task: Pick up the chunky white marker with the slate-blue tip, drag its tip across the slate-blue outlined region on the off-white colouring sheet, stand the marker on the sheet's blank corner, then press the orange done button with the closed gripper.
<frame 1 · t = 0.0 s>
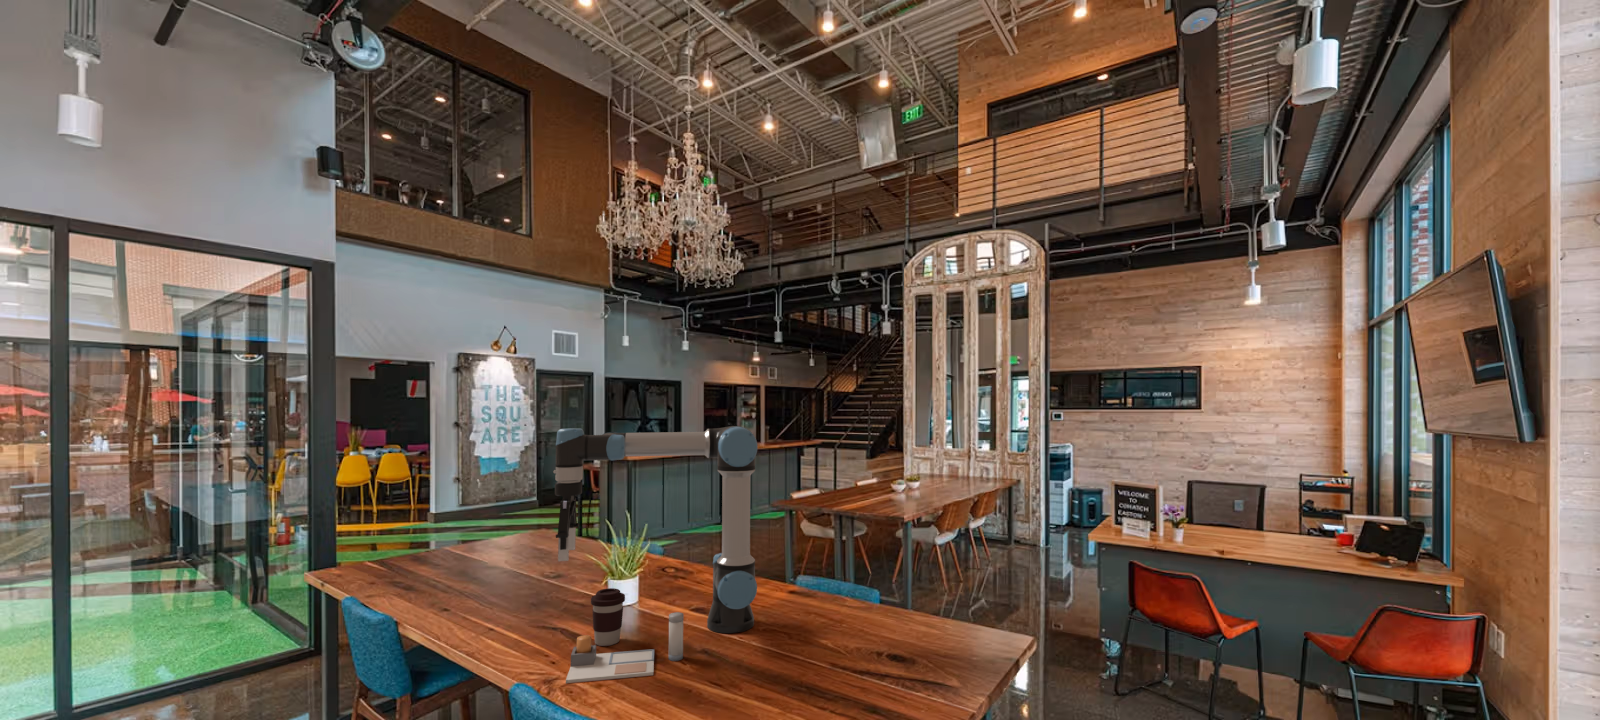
hand: (566, 555, 180), 28 cm above the table, fingers open, 13 cm apart
coffee cup: (607, 642, 188), on the table
marker: (675, 658, 175), on the table
done button: (583, 647, 172), point 5 cm above the table, slide at 0.0 cm
sheet board: (612, 666, 170), on the table
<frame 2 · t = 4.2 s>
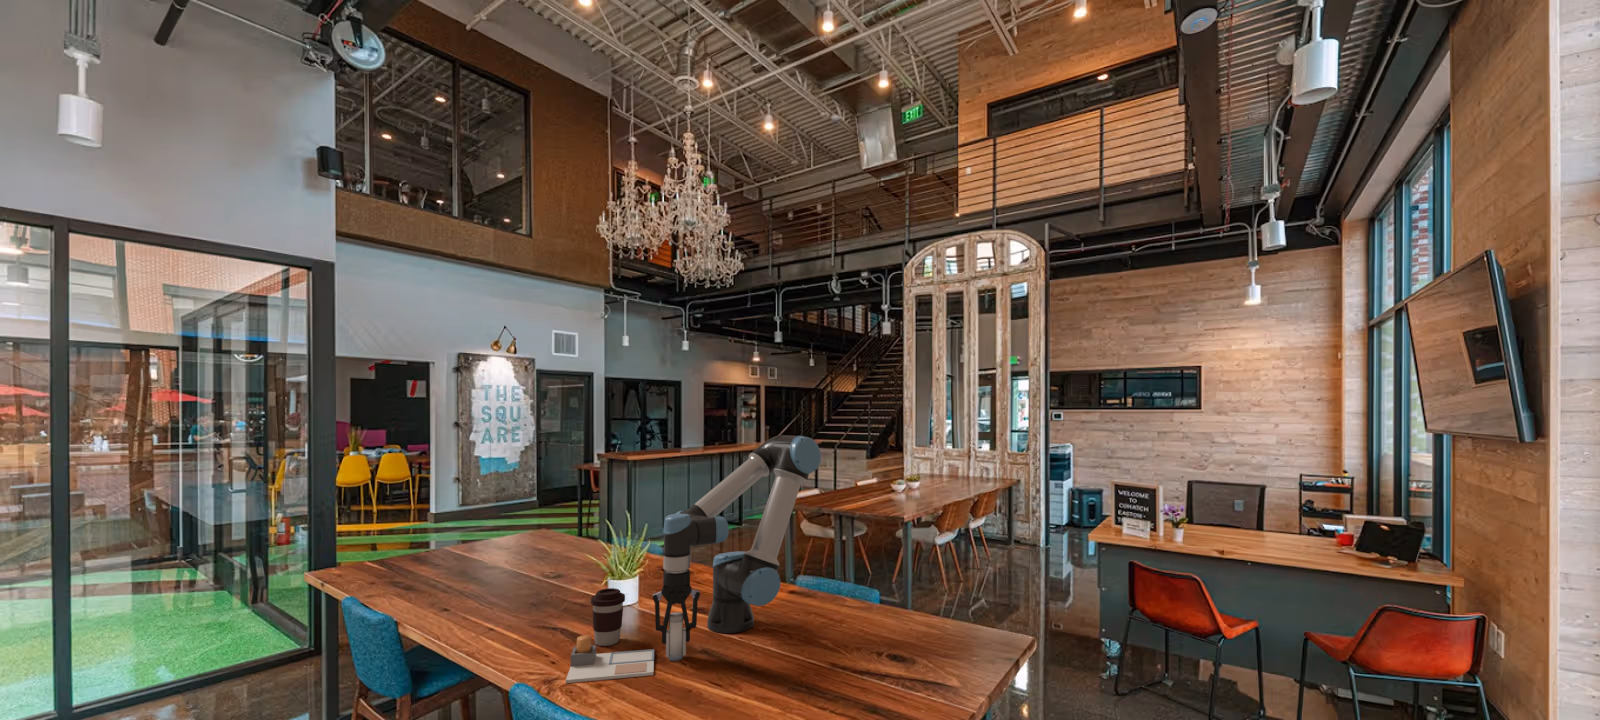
hand: (675, 654, 175), 1 cm above the table, fingers closed on marker, 4 cm apart
marker: (675, 658, 175), on the table, touching gripper
everything else where it was.
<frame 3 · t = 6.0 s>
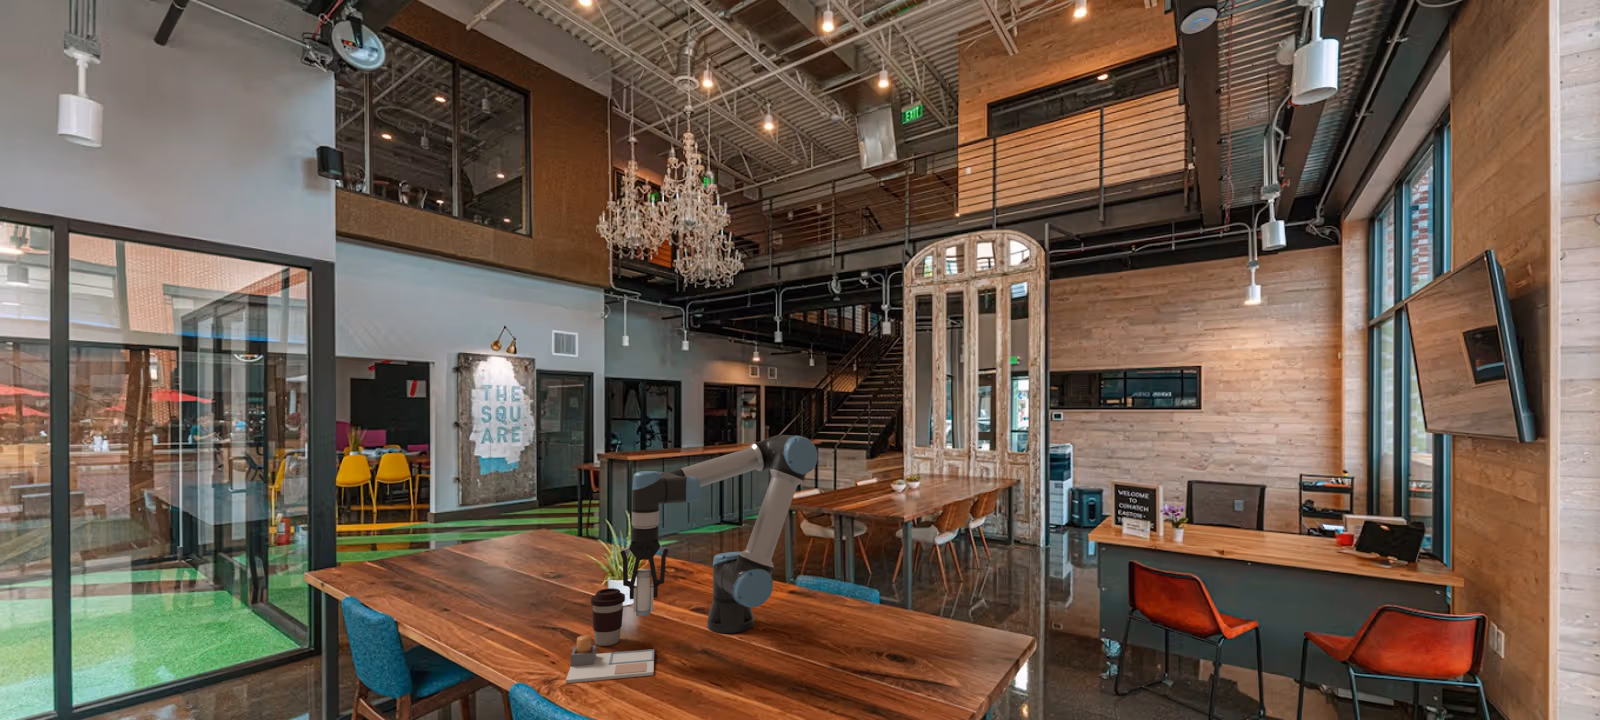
hand: (643, 609, 176), 14 cm above the table, fingers closed on marker, 4 cm apart
marker: (643, 614, 176), point 12 cm above the table, touching gripper
everything else where it was.
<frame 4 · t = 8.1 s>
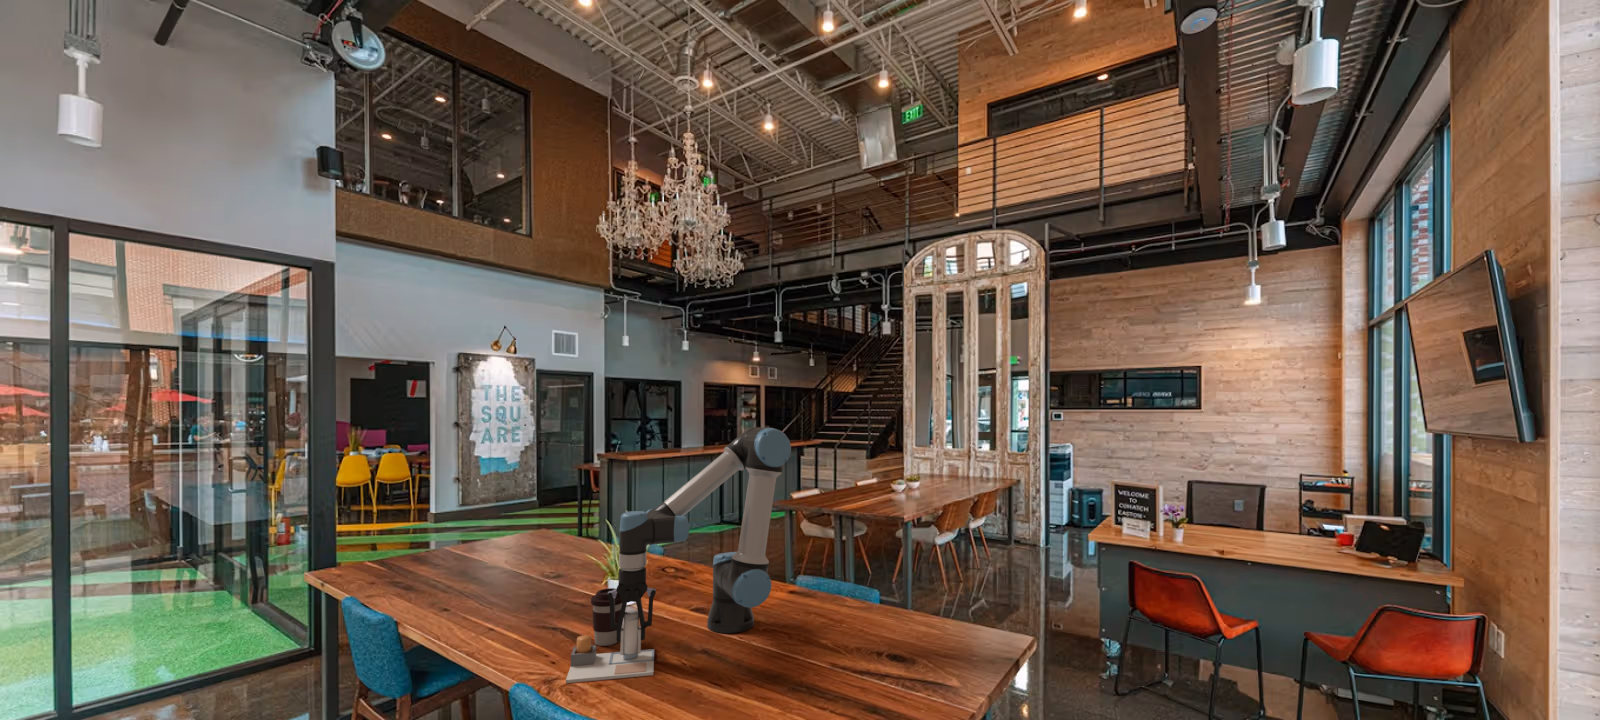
hand: (630, 652, 174), 2 cm above the table, fingers closed on marker, 4 cm apart
marker: (630, 656, 174), point 1 cm above the table, touching gripper
everything else where it was.
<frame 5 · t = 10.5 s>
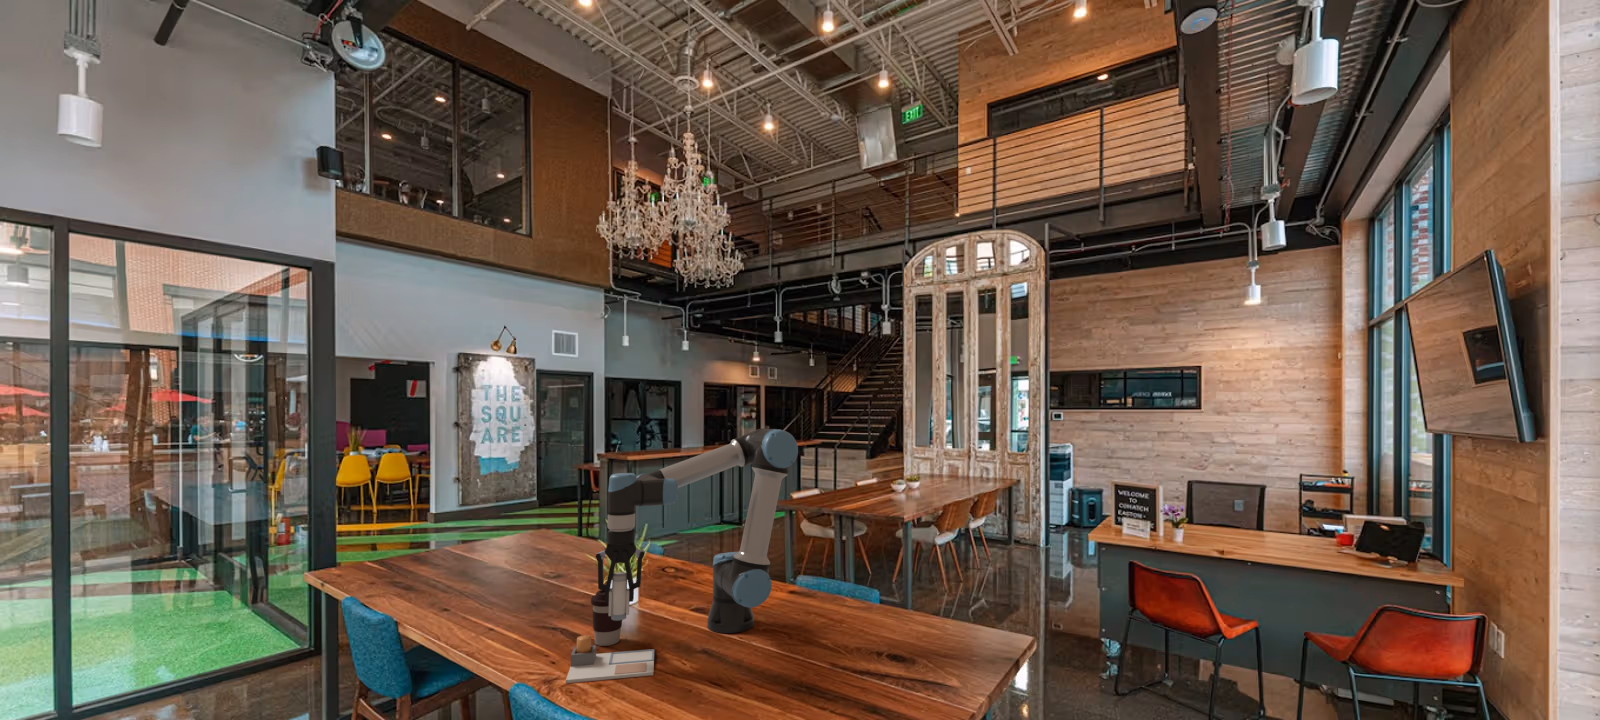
hand: (618, 613, 173), 13 cm above the table, fingers closed on marker, 4 cm apart
marker: (618, 618, 173), point 12 cm above the table, touching gripper
everything else where it was.
when the fingers open (3 cm above the table, at t = 12.5 s): marker stays where it is, resting on sheet board.
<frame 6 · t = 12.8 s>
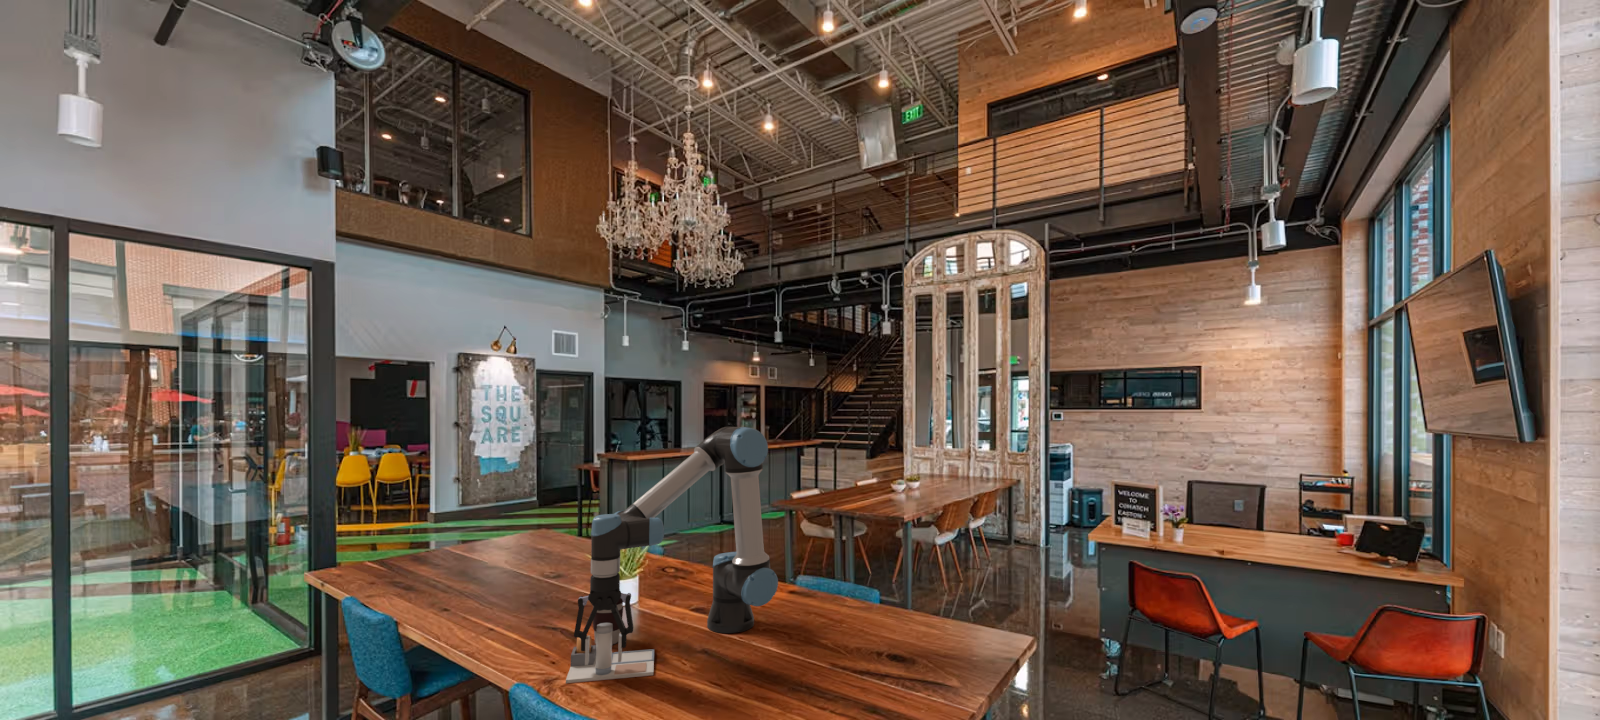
hand: (603, 661, 165), 3 cm above the table, fingers open, 8 cm apart
marker: (603, 671, 165), point 1 cm above the table, touching sheet board
everything else where it was.
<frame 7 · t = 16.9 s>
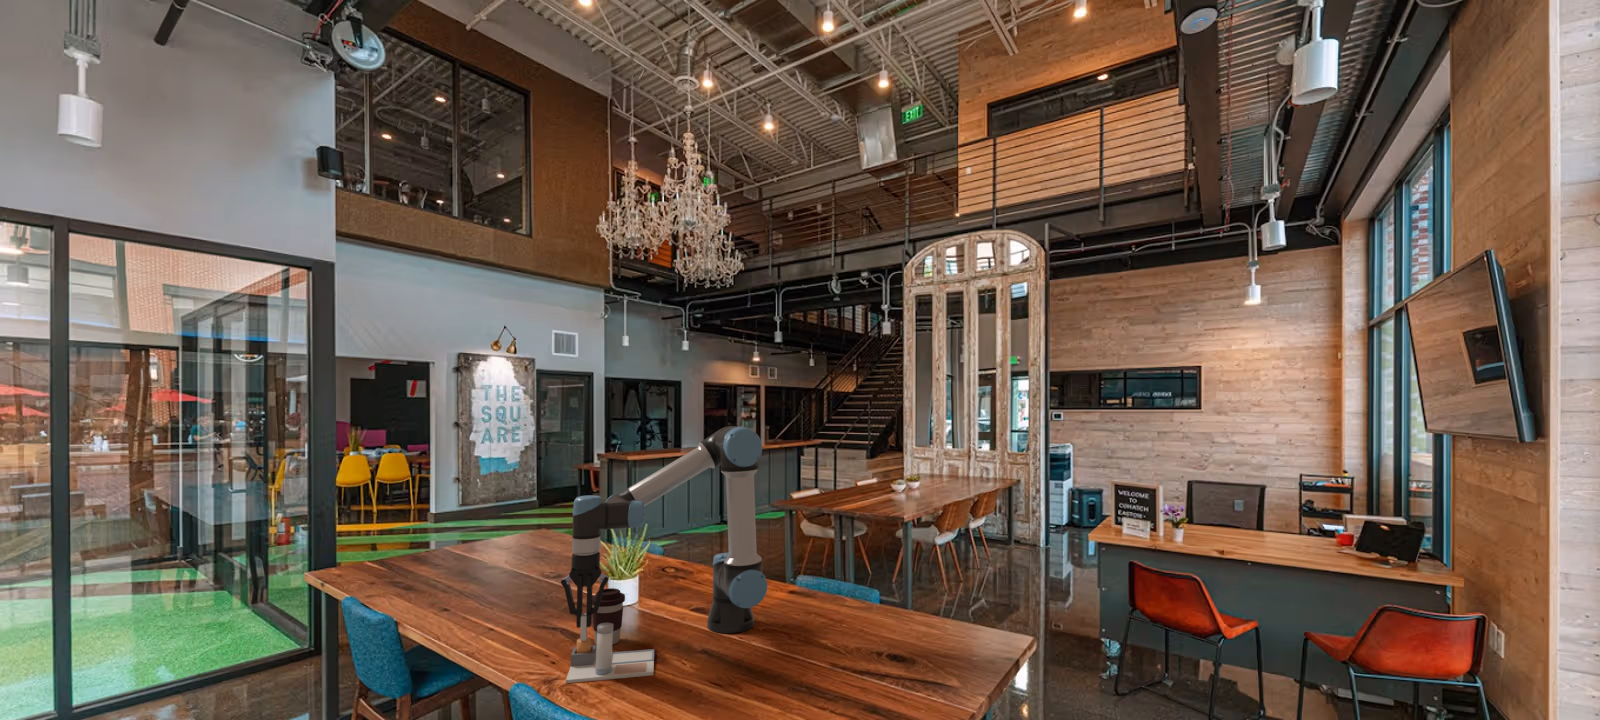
hand: (583, 638, 172), 7 cm above the table, fingers closed
done button: (583, 649, 172), point 4 cm above the table, slide at 0.6 cm, touching gripper
everything else where it was.
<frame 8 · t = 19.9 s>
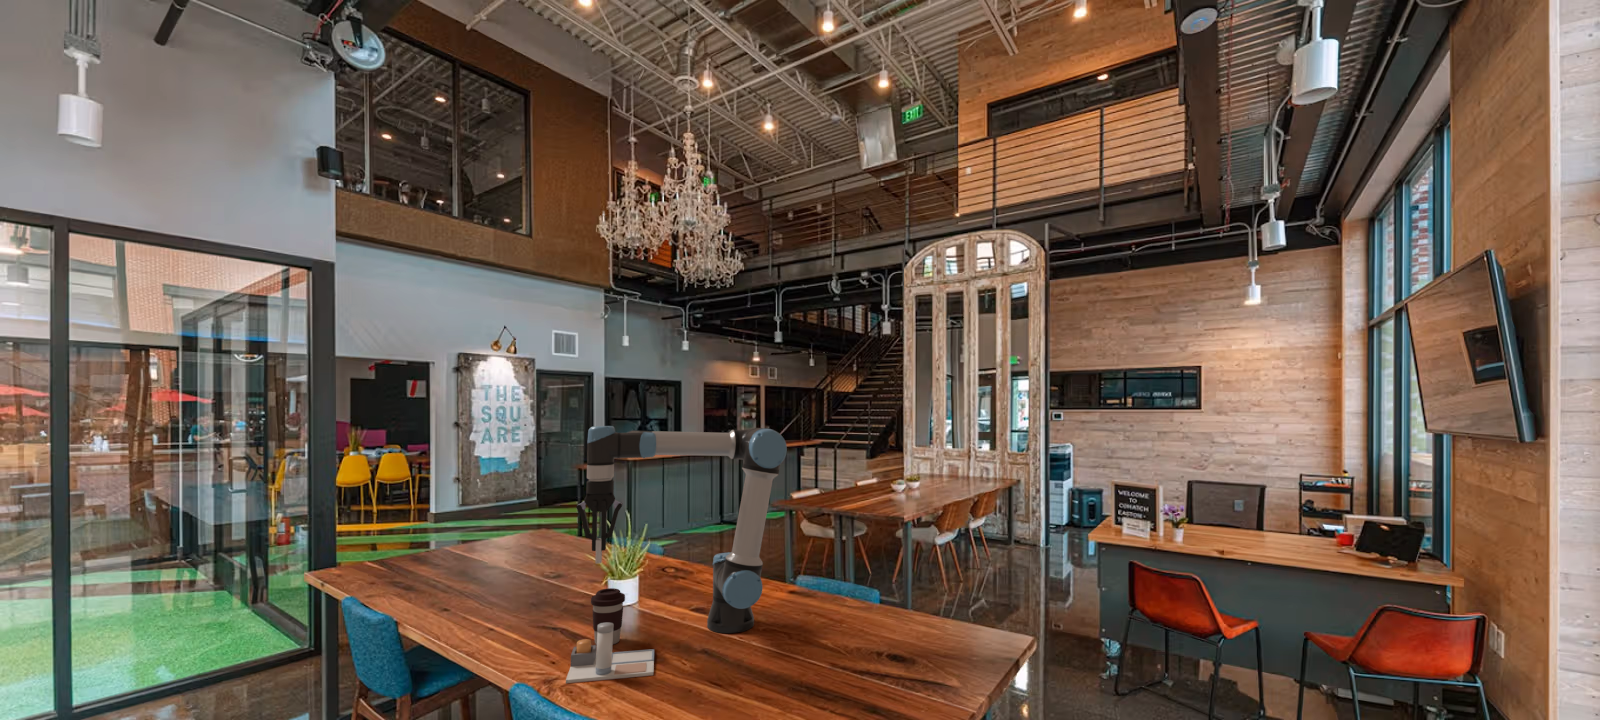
hand: (598, 562, 178), 26 cm above the table, fingers closed
done button: (583, 651, 172), point 4 cm above the table, slide at 1.1 cm
everything else where it was.
at the end: done button slide at 1.1 cm; the gripper is holding nothing; marker inside the target area (0.5 cm from its centre), point 0.9 cm above the table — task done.
